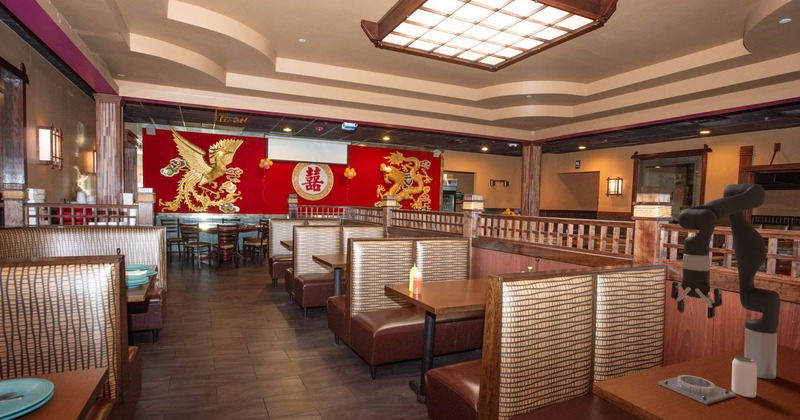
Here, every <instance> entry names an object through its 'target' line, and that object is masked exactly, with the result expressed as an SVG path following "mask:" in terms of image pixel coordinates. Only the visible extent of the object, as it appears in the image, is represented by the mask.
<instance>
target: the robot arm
mask: <svg viewBox="0 0 800 420" xmlns="http://www.w3.org/2000/svg"><path fill="white" fill-rule="evenodd" d="M722 193H723V197H721V198H716V199H713V200H710V201H708V202H706V203H704V204H701V205H697V206H695V205H694V206H691V207H688V208H685V209H683V210H682V211H681V212H680V213H679V214H678V216H677V223H678V225H679V227H681V228H682V229H684V230H689V231H691V230H693V231H698V232H697V234H696V235H695V236H694V235H693V236H688V237H685V238H684V240H683V258H682V282H679V281H678V280H677V281H672V283H671V293H670V298H671V299H674V300H676V304H677V305H676V306H677V307H676V309H677V311H678V312H679V313H684V312H685V301H684V300H685V299H687V298H688V297H689V298H696V299H701V300H702V301H703V302H705V304H706V306H707V316H706V317H707V319H713V318H714V317H715V315H716V308H718V307H721V306H723V293H722V288H721V287H717V288H716V287H711V285H710V284H711V283H710V282H711V260H710V259H711V258H710V243H711V240H712V236H713V233H714V231H715V229H716V226H717V222H720V221H721V220H723V219H725V218H728V221H729V222H728V223H729V225H730V230H731V237H732V243H733V244H732V245H733V251H734V256H735V261H736V267H737V274H738V286H739V289H738V290H739V292H738V293H739V301H740V305H741V306H742V307H743V308H744V309H745V310H748V311H751V312H756V313H760V314H762V315H761V317H760V318H756V319H755V318H752V319H746V320H745V321H744V322H745V323H744V353H743V354H744V356H743V357H747V358H751V359H753V360H755V363H756V365H757V378H760V379H764V380H765V379H767V380H773V379H774V380H775V379H776V378H777V352H778V351H777V348H778V346H777V345H778V342H777V341H778V339H777V338H778V327H779V321H780V319H779V318H780V310H781V297H780V296H781V295H780V294H779V292H778V291H776V290H774V289H773V290H771V289H767V288H761V287H756V286H755V276H756V274H757V273H758V272H759V270H760V269H761V268H762V266H763V265H764V263H765V262H766V259H767V255H768V253H767V247H766V242H765V239H764V237H763V236H762V235H761V233H759V231H758V230H757V229H755V227H754V226H753V225H752V224H751V223H750V222H749V220H747V218H746V216H745V215H744V212H743V211H747V210H751V209H756V208H759V207H761V206H762V205H763V204H764V202H765V201H766V191H765V188H764V187H763V186H762V185H761V184H758V183H735V184H734V183H733V184H732V183H731V184H728V185H726V186H725V187H724V189H723V192H722ZM680 288H682V290H683V291H682V292H681V293H680V294H679V291H680V290H679V289H680ZM710 292H711V293H712V294H713V299H714V300H713V299H712V297H711V295H710V294H709V293H710Z"/></svg>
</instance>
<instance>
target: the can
mask: <svg viewBox="0 0 800 420" xmlns="http://www.w3.org/2000/svg"><path fill="white" fill-rule="evenodd" d="M733 358H734V359H732V364H731V365H732V367H731V392H734V393H735V395H738V396H741V397H744V398H749V399H751V398H755V397H757V381H758V377H757V365H756V363H755V360H753V359H751V358H747V357H744V356H741V355H737V356H736V355H735V356H734V357H733Z"/></svg>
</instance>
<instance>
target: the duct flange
mask: <svg viewBox="0 0 800 420" xmlns="http://www.w3.org/2000/svg"><path fill="white" fill-rule="evenodd" d="M657 384H658V386H661V387H663V388H666V389H669V390H670V391H672V392H675V393H678V394H680V395H682V396H684V397H687V398H690V399H692V400H694V401H697V402H699V403H702V404H704V405H706V406H707V405H710V404H714V403H716V402H720V401H724V400H726V399H730V398H733V397H736V394H735V393H734V392H733V391H732V390H731V391H730V390H729V389H725V388H722V387H720V386H717V385H715V383H713V382H712V381H710V380H708V379H705V378H703V377H700V376H694V375H690V374H681V375H678V376H676V377H675V376H674V377H671V378H667V379H663V380H658V381H657Z"/></svg>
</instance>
